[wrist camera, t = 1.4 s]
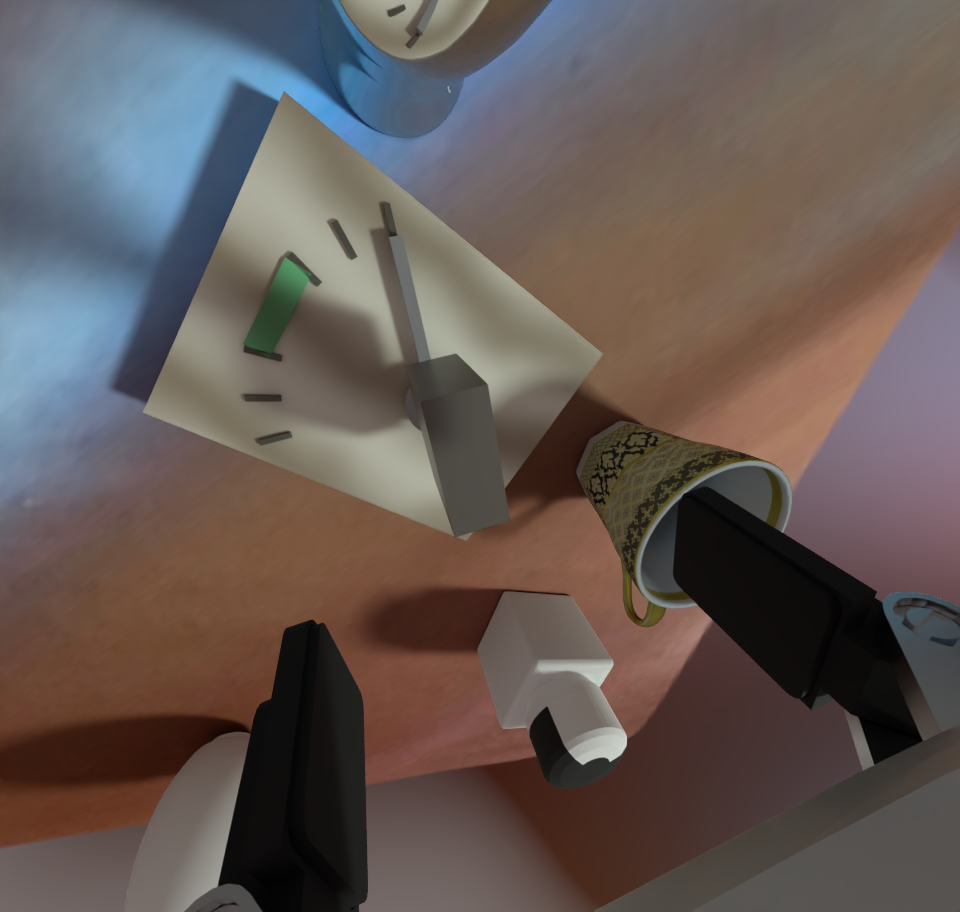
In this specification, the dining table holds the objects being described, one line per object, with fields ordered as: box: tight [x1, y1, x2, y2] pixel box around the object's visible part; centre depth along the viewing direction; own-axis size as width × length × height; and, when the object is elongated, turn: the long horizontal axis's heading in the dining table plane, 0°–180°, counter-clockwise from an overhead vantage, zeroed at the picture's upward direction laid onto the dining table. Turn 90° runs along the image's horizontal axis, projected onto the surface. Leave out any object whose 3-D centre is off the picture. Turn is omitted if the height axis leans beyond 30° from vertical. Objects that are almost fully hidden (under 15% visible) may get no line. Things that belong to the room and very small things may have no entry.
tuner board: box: [143, 92, 603, 541], centre depth 22 cm, size 15×19×2 cm
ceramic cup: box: [576, 421, 792, 627], centre depth 27 cm, size 13×10×10 cm
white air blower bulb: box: [124, 732, 250, 912], centre depth 25 cm, size 8×8×18 cm
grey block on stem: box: [388, 235, 510, 538], centre depth 17 cm, size 3×11×8 cm, turn 10°
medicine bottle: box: [477, 591, 627, 788], centre depth 31 cm, size 7×7×12 cm
